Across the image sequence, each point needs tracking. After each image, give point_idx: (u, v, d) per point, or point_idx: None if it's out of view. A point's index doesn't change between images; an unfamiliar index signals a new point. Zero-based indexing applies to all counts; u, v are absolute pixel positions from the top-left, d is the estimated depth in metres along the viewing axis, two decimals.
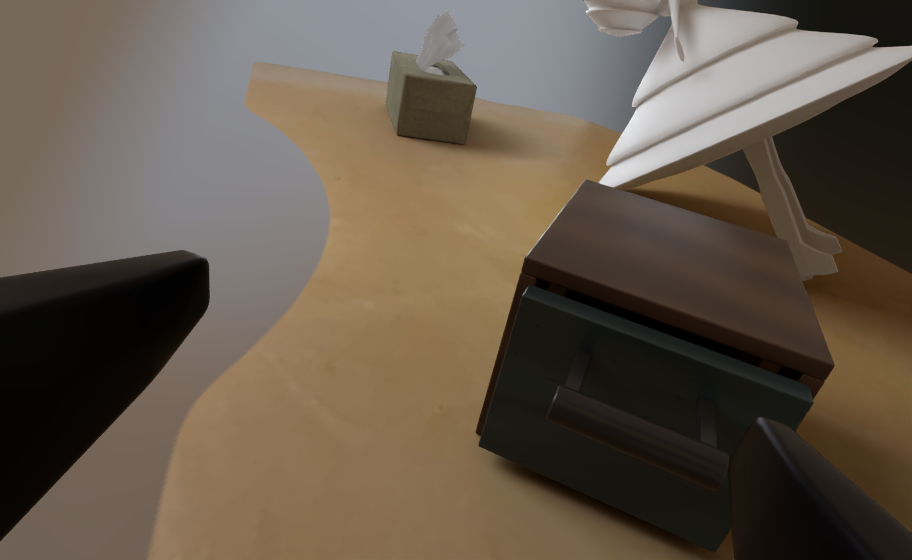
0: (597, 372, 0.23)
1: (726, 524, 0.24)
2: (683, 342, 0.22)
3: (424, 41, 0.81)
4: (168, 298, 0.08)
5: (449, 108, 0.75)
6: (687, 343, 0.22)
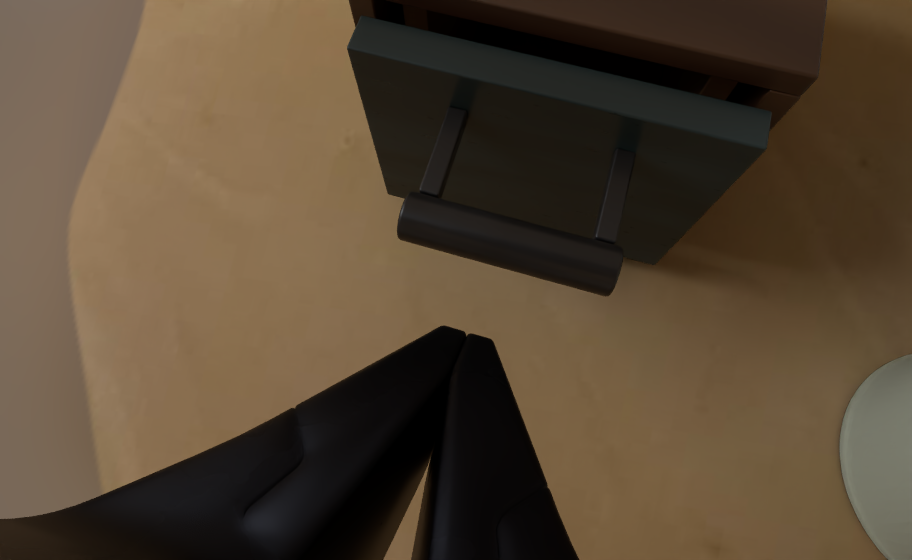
0: (481, 128, 0.17)
1: (663, 247, 0.21)
2: (590, 75, 0.15)
3: None
4: None
5: None
6: (596, 76, 0.15)
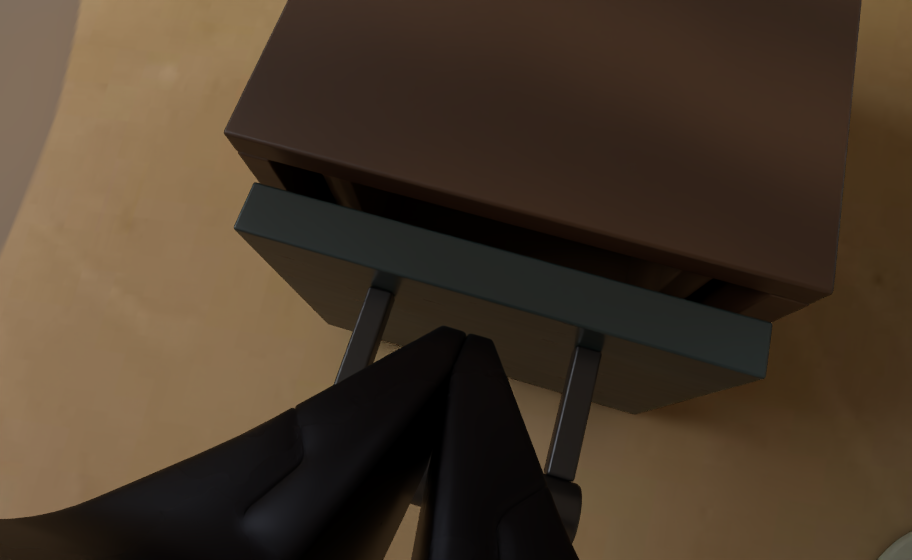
0: (413, 305, 0.14)
1: (643, 407, 0.18)
2: (540, 270, 0.12)
3: None
4: None
5: None
6: (548, 270, 0.12)
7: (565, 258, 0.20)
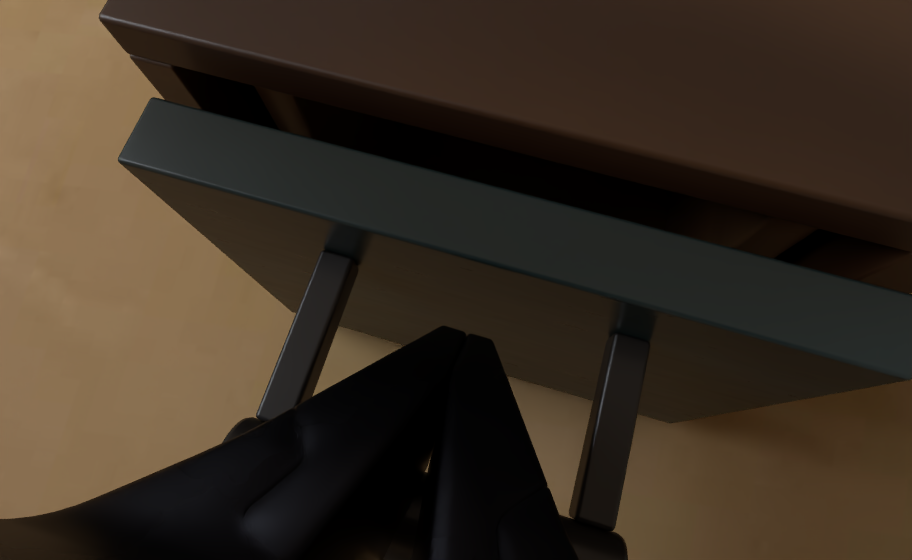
0: (385, 278, 0.10)
1: (686, 416, 0.14)
2: (566, 219, 0.08)
3: None
4: None
5: None
6: (577, 219, 0.08)
7: None
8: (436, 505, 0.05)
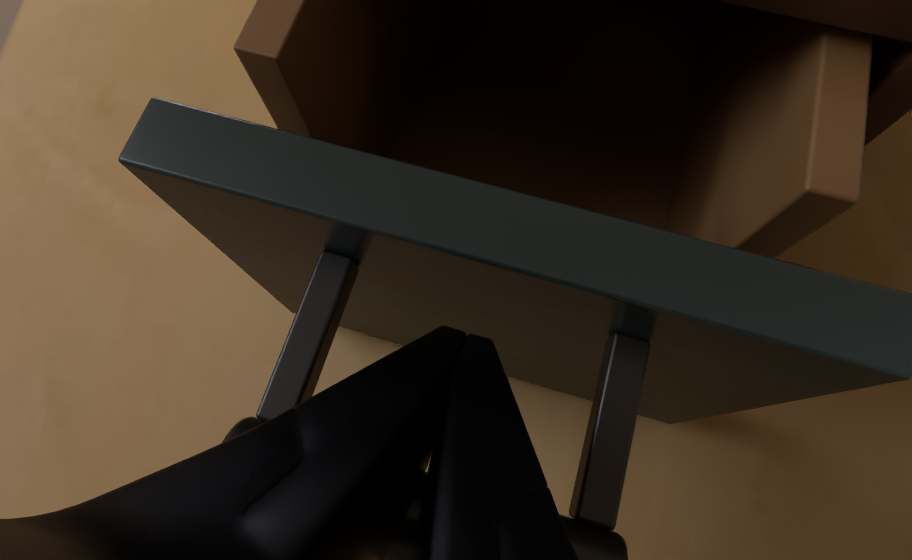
0: (385, 278, 0.10)
1: (686, 416, 0.14)
2: (565, 219, 0.08)
3: None
4: None
5: None
6: (577, 219, 0.08)
7: None
8: (436, 505, 0.05)
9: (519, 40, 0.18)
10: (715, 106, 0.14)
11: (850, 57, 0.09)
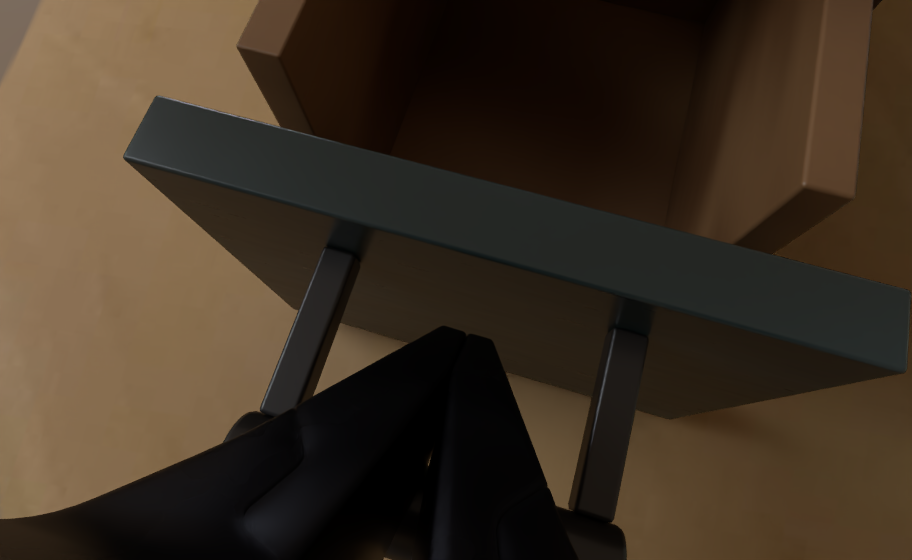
0: (387, 274, 0.10)
1: (685, 412, 0.14)
2: (565, 215, 0.08)
3: None
4: None
5: None
6: (576, 216, 0.08)
7: None
8: (436, 505, 0.05)
9: (519, 38, 0.18)
10: (714, 103, 0.14)
11: (847, 55, 0.09)
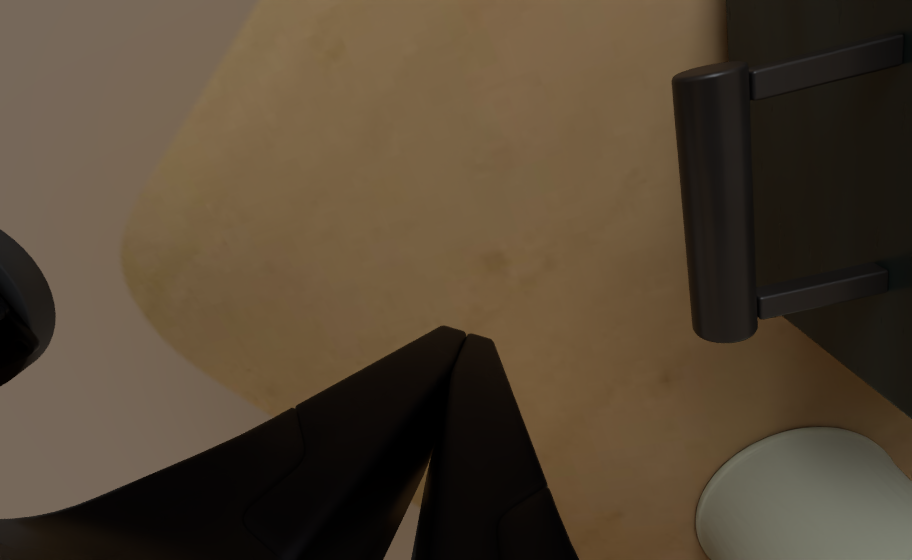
0: (875, 86, 0.12)
1: None
2: None
3: None
4: None
5: None
6: None
7: None
8: (436, 505, 0.05)
9: None
10: None
11: None
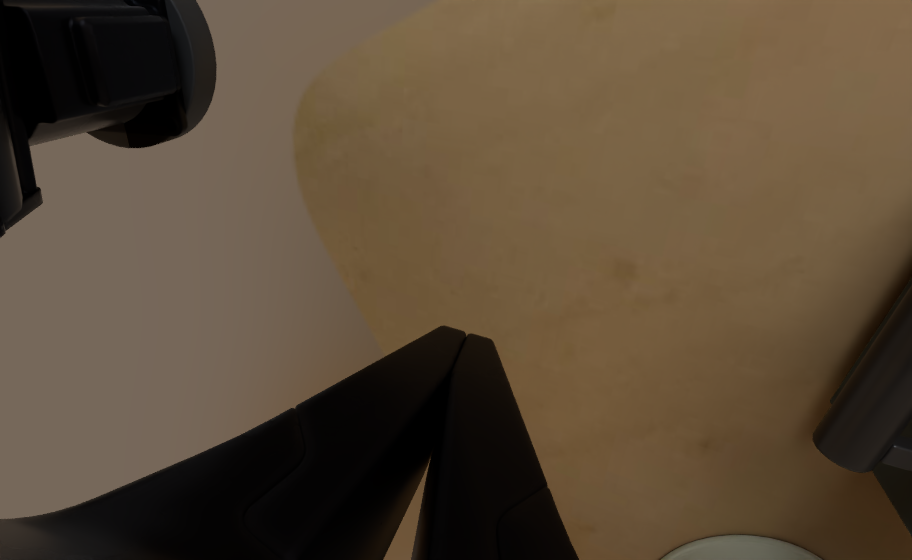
0: None
1: None
2: None
3: None
4: None
5: None
6: None
7: None
8: (436, 505, 0.05)
9: None
10: None
11: None
